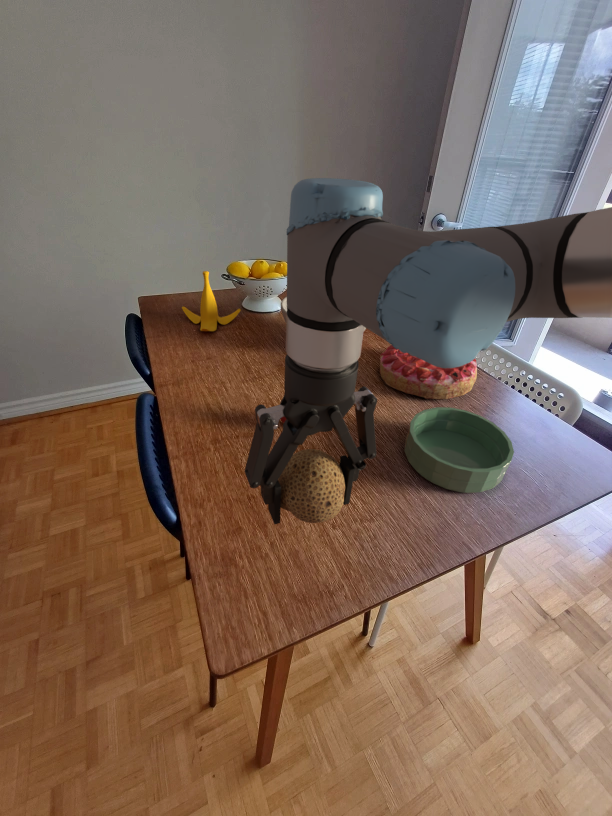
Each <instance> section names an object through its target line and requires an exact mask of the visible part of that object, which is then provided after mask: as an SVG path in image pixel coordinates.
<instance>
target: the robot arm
mask: <svg viewBox="0 0 612 816" xmlns="http://www.w3.org/2000/svg"><path fill="white" fill-rule="evenodd" d="M383 194H384V193H383V191H382V189H381V187H380V186H379V185H377V184H374V183H373V182H369V181H366V180H365V181H364V180H358V179H350V178H349V179H348V178H335V177H314V178H313V177H312V178H304V179H301V180H299V181H298V182H296V183H295V184H294V186H293V187H292V190H291V193H290V202H289V203H290V205H289V217H288V226H287V228H286V236H287V239H286V241H287V242H286V244H287V246H286V296H287V312H286V322H285V323H286V324H285V353H286V355H285V357H284V379H283V382H284V383H283V384H284V385H283V386H284V387H283V389H284V393H283V397H282V399H281V400H280V403H279V404H278V405H274V406H271V407H266V406H265V405H264V404H261V403H260V404H258V405H256V406H255V408H254V413H255V414H254V415H255V419H256V425H255V428H254V432H253V436H252V440H251V445H250V447H249V452H248V456H247V459H246V463H245V468H244V475H245V477H246V479H247V482H248V485H249V487H250V488H251V489H257V488H258V487H260V495H261V498H262V500H263V504H264V505H267V507H268V508H267V510H268V512H269V515H270V516H271V519H272V523H273V524H274V526H275V525H278V524H281V510H282V508H281V486H280V484H279V481H278V479H279V477H280V475H281V474H282V472H283V470H284V469H285V467H286V465H287V464H288V462H289V460H290V459H291V457H292V456H293V455H294V454H295V453H296V451H297V450H298V447H299V446H303V444H304V443H305V441H306V439H307V438H308V437H309V436H312V435H313V436H314V435H315V434H318V433H327V432H332V431H334V432H335V435H336V436H337V438H338V439H339V442H340V444H341V446H342V448H343V449H344V451H345V453H346V454H347V455H346V454H344V455H340V457H339V463H338V464H339V465H340V467H341V469H342V472H343V476H344V481H345V492H344V502H343V506H346V505H349V504H350V501H351V496H352V490H353V484H354V482H357V480H358V479H359V475H360V471H363V470H365V469H366V467H367V463H366V461H365V460H367V459H368V460H373V459H375V458H376V457H377V442H376V441H377V439H376V431H375V430H376V427H375V410H376V408H377V403H378V398H377V397H376V396H375V394H373V393H372V391H371V390H370V389H369V388H368V387H367V386H364V385H363V386H361V387H359V388H358V390H356V386H357V379H358V372H359V365H360V363H359V359H360V357H361V356H362V347H363V340H364V339H363V338H364V332H365V331H364V327H365V328H366V329H367V330H369V331H370V332H372V333H373V334H374V335H376V336H378V337H379V338H381V339H383V341H386V342H387V343H388V344H389V345H392V346H393V347H394V348H396V349H399V350H400V351H401V352H403V353H409V354H410V355H411V356H415V357H417V358H419V359H421V360H424V361H426V362H428V363H430V364H431V365H433V366H436V367H440V368H456V367H460V366H463V365H465V364H467V363H469V362H471V361H473V360H474V359H476V357H477V356H478V354H479V352H483V351H484V352H485V351H486V350H487V349H488V348H489V347H490V346H492V344H493V343H494V342H495V340H497V338H498V336H499V335H500V334H501V332H502V330H503V329H504V327H505V326H506V323H507V322H512V321H515V320H522V319H576V318H577V319H581V318H596V319H597V318H599V319H600V318H602V319H603V318H604V319H605V318H606V319H612V206H611V207H605V208H601V209H595V210H591V211H586V212H579V213H578V212H577V213H572V214H566V215H561V216H557V217H551V218H545V219H540V220H535V221H530V222H529V221H528V222H523V223H514V224H507V225H499V226H498V225H497V226H482V227H472V228H471V227H469V228H459V229H456V228H455V229H447V230H435V231H431V230H430V231H429V230H418V229H414V228H410V227H406V226H403V225H398V224H394V223H391V222H389V221H386V220H383V219H382V218H383V216H384V211H383V201H384V195H383ZM353 406H354V413H355V421H356V429H357V438H358V446H357V445H356V443H355V441H354V439H353V436H352V435H351V433H350V429H349V428H348V426H347V423H346V422H345V419H344V417H346V415H347V414H348V412H349V411H350V410H351V409H352V408H353ZM282 417H285V418H286V420H285V422H284V423H283V424H282V431H281V432H280V434H279V436H278V438H277V440H276V441H275V442H274V445H273V446H272V444H273V440H274V437H275V436H274V435H275V430H277V429H278V427H279V422H280V421H281V419H280V418H282ZM271 447H272V448H271Z"/></svg>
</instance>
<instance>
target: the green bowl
mask: <svg viewBox="0 0 612 816" xmlns="http://www.w3.org/2000/svg"><path fill="white" fill-rule="evenodd" d="M403 452H404V453H405V457H406V459H407V461H408V463H409V464H410V465H411V467H412V468H413V469H414V470H415V471H416V472H417V473H418V474H419V475H420V476H421V477H423V478H424V479H425V480H427V481H428V482H430V483H432V484H433V485H436V486H438V487H440V488H443V489H445V490H449V491H452V492H457V493H464V494H474V493H475V494H476V493H483V492H485V491H489V490H492V489H494V488H495V487H496V486H498V485H499V484H500V483H501V482H502V481H503V479H504V477H505V475H506V473H507V471H508V470H509V467H510V465H511V463H512V460H513V457H514V453H515V450H514V446H513V442H512V440H511V438H510V437H509V436H508V435H507V433H506V432H505V431H504V430H503V429H502V428H500V427H499V426H498V425H497V424H496V423H494V422H493V421H491V420H489V419H487V418H485V417H484V416H482V415H480V414H477V413H475V412H473V411H469V410H467V409H462V408H461V409H460V408H455V407H446V406H436V407H431V408H426V409H423V410H420V411H419V412H417V413H416V414H415V415H414V416H413V417H412V419H411V420H410V422H409V426H408V430H407V433H406V436H405V441H404V451H403Z"/></svg>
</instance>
